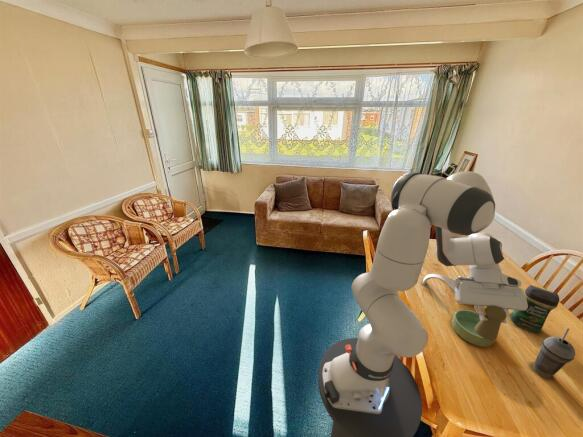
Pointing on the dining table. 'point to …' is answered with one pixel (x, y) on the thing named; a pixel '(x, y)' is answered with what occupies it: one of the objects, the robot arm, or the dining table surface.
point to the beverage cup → (553, 355)
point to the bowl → (469, 327)
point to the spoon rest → (447, 280)
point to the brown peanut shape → (491, 323)
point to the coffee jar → (535, 308)
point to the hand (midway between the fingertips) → (493, 321)
